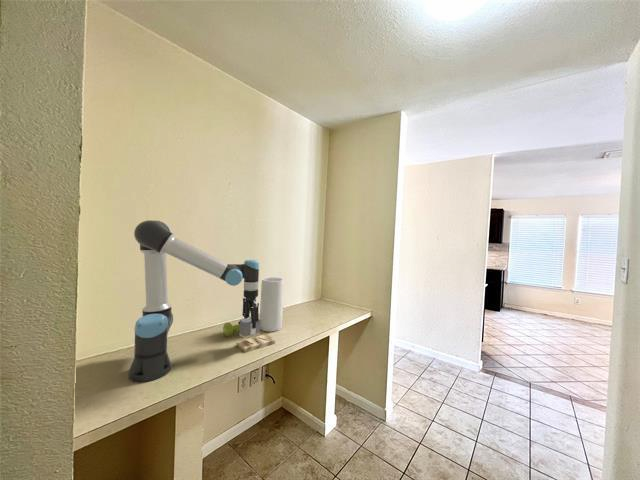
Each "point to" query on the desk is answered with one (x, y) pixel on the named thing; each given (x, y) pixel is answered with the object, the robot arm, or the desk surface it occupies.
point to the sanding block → (248, 328)
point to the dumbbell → (230, 329)
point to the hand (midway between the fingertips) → (249, 331)
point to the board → (255, 343)
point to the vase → (271, 304)
